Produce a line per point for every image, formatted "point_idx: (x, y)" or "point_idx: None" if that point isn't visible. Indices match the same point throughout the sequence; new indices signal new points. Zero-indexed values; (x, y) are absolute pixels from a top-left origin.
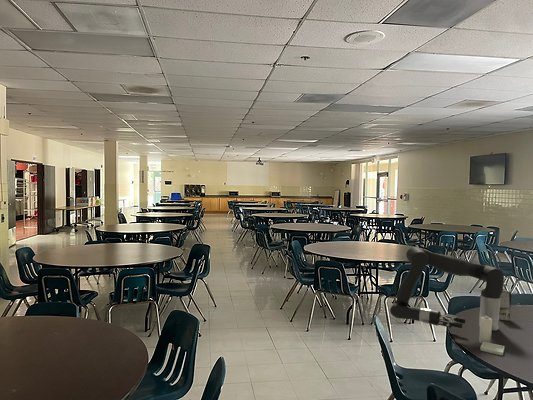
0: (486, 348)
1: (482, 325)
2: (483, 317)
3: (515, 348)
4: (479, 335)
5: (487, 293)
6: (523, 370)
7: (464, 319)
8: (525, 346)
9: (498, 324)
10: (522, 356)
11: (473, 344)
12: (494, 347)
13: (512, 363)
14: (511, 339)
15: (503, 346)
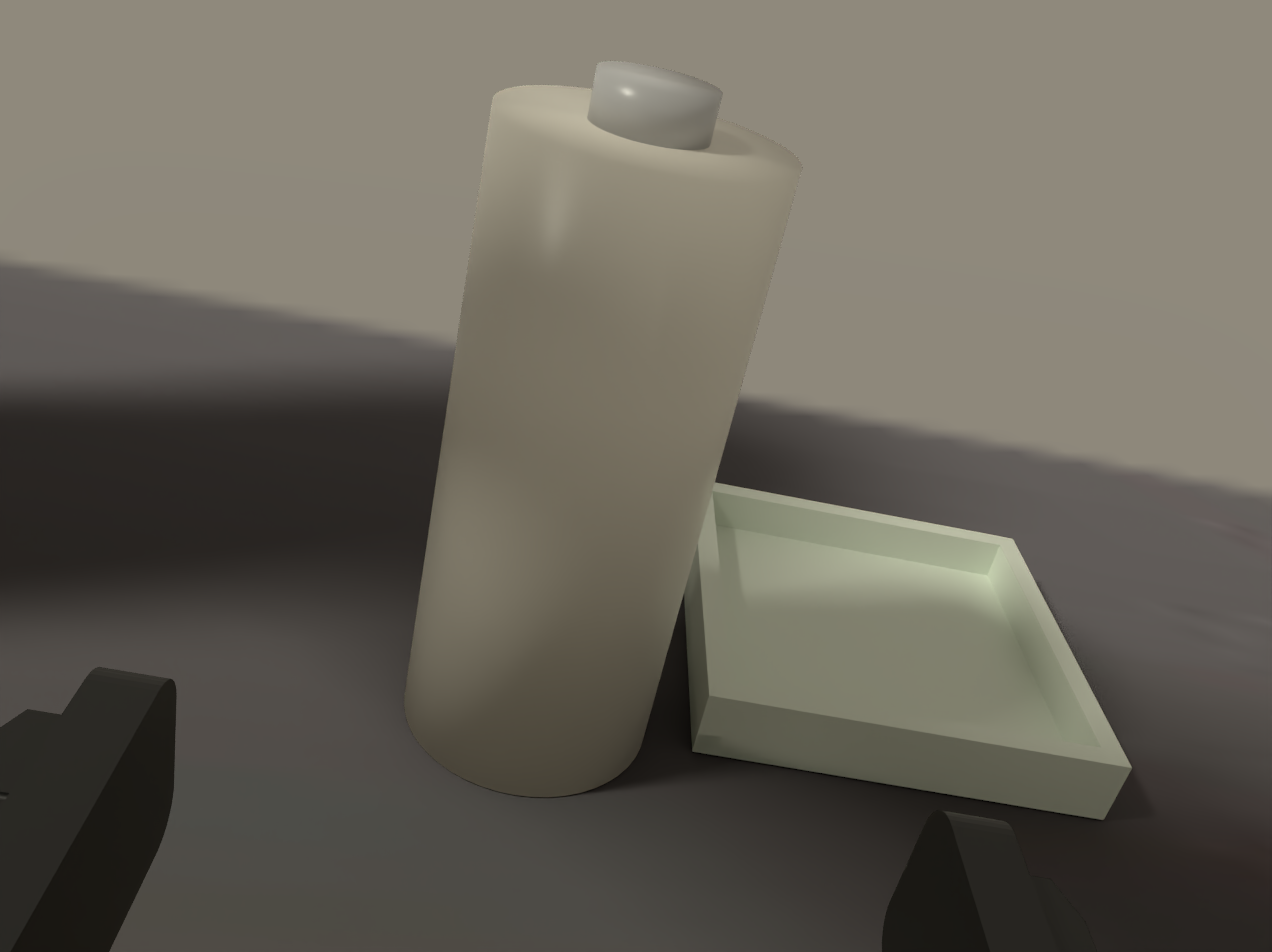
0: (1082, 690)
1: (734, 373)
2: (619, 143)
3: None
4: (574, 672)
5: None
6: (1232, 507)
7: (170, 685)
8: (335, 336)
9: None
10: (781, 431)
11: (864, 917)
12: (767, 606)
13: (1148, 546)
14: (64, 378)
15: (718, 489)
